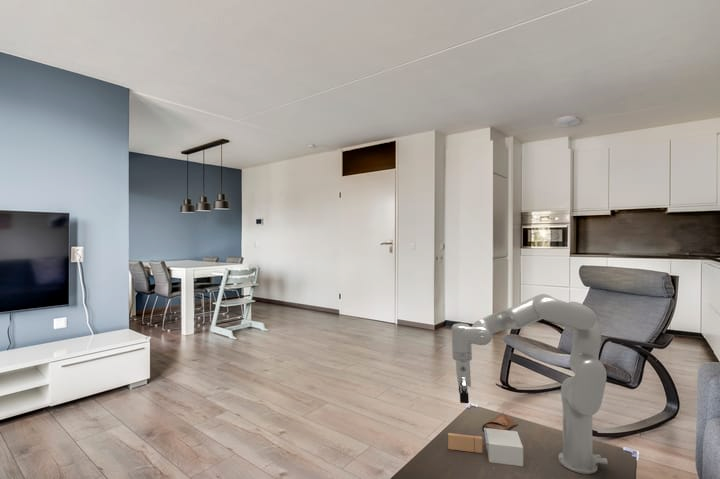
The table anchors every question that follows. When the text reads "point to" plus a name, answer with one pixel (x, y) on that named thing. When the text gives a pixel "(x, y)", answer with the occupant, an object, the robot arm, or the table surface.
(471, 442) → the tan banded plank
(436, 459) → the table surface
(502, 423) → the sunglasses case
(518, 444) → the white box
